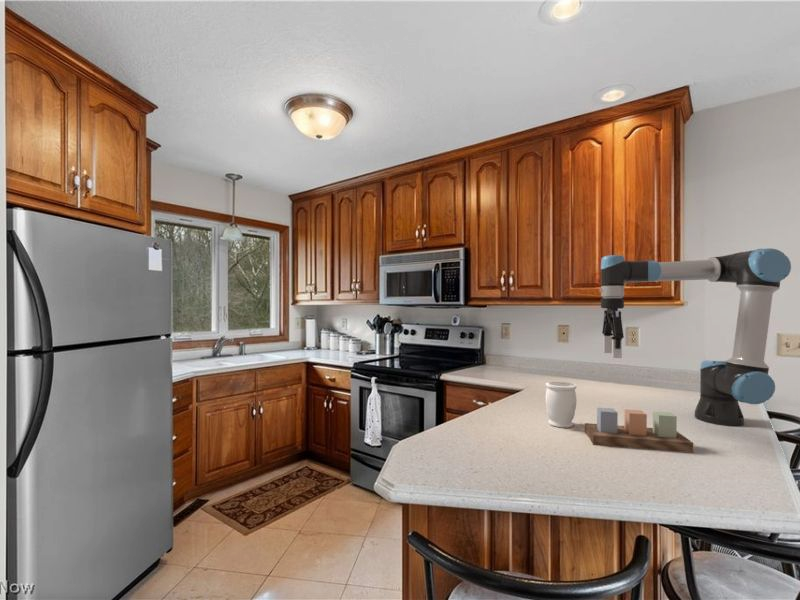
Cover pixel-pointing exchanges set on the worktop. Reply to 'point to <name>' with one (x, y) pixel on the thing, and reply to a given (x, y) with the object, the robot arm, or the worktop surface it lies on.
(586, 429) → the brown board
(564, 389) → the jar
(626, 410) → the terracotta toy cube
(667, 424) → the sage green block
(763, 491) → the worktop surface
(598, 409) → the blue-gray block
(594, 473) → the worktop surface
